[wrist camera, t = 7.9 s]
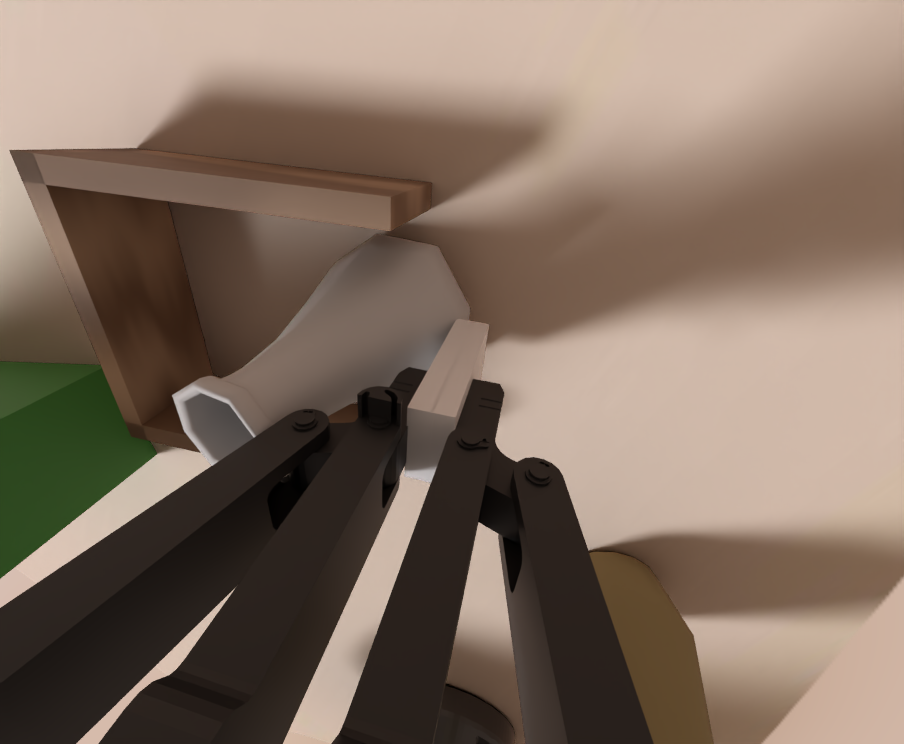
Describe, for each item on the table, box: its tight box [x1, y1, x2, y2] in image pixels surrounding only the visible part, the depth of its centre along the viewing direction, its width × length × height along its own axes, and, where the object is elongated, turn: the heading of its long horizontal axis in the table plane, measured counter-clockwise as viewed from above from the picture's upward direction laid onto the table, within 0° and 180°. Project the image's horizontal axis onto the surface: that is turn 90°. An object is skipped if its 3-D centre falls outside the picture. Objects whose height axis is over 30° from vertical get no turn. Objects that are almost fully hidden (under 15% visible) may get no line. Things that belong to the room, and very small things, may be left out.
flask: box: [172, 233, 471, 466], centre depth 15 cm, size 7×7×10 cm
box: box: [9, 148, 432, 453], centre depth 18 cm, size 13×14×5 cm
